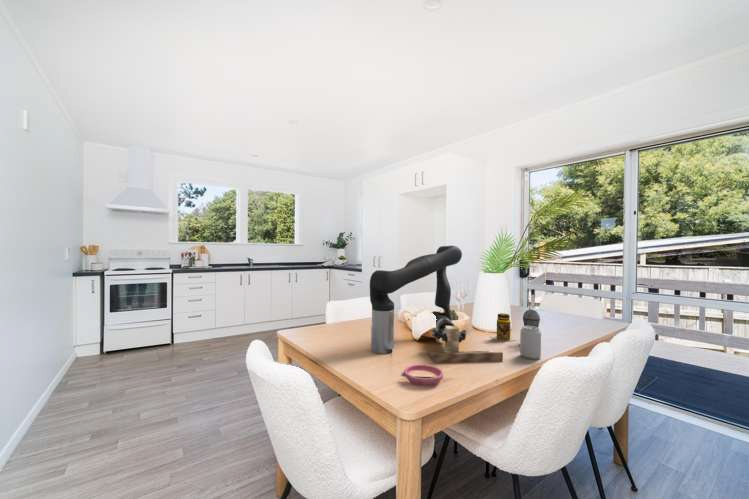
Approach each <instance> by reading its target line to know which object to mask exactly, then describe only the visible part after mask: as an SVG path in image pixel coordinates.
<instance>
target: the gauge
mask: <svg viewBox="0 0 749 499" xmlns="http://www.w3.org/2000/svg"><path fill="white" fill-rule="evenodd" d="M459 332H460V327H458V326H457V325H455V326H445V334H446V335H447V337H448V341H447V342H445V341H444V352H446V353H459V352H460V351H459V350H460V343H459Z"/></svg>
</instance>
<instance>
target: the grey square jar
mask: <svg viewBox="0 0 749 499" xmlns="http://www.w3.org/2000/svg"><path fill="white" fill-rule="evenodd" d="M519 334H520V339H519V342H520V344H519V348H520V349H519V354H520V355H521V356H522V357H523V358H525V359H528V360H538V359H539V358H541V355H542V331H541V330H540V327H535V326H524V325H522V328H521V329H520V332H519Z"/></svg>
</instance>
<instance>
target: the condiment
mask: <svg viewBox="0 0 749 499" xmlns="http://www.w3.org/2000/svg"><path fill="white" fill-rule="evenodd" d="M510 318H511V317H510V314H509V313H501V312H500V313H497V319H496V336H490V338H491V339H495V340H497V341H500V342H511V341H514V339H513V338H511V320H510Z"/></svg>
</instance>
